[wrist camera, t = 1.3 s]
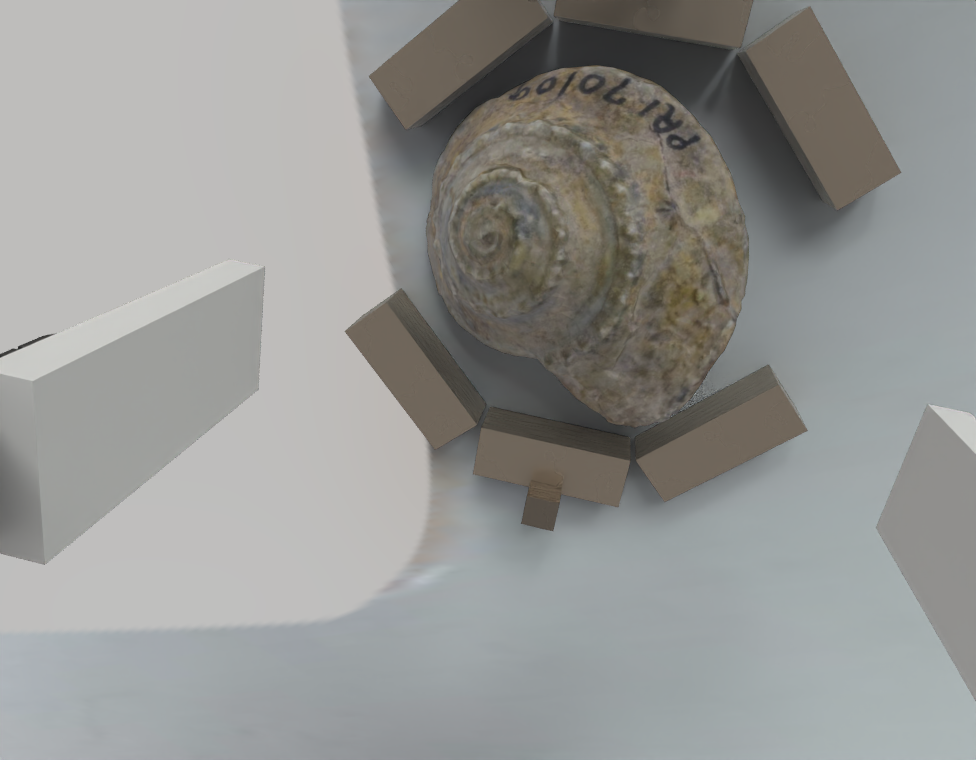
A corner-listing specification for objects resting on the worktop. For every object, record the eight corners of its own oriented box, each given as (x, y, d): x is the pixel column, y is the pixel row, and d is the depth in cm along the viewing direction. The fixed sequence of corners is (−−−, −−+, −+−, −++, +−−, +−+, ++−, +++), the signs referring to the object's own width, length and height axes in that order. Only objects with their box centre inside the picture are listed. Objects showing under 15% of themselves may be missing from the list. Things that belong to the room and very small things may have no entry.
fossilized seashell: (676, -5, 23) (676, 98, 18) (782, 264, 28) (804, 398, 23) (392, 141, 28) (331, 253, 23) (531, 345, 33) (506, 470, 28)
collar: (405, -109, 24) (374, -134, 21) (947, -24, 23) (995, -40, 20) (349, 440, 32) (321, 476, 29) (752, 532, 30) (765, 581, 27)
